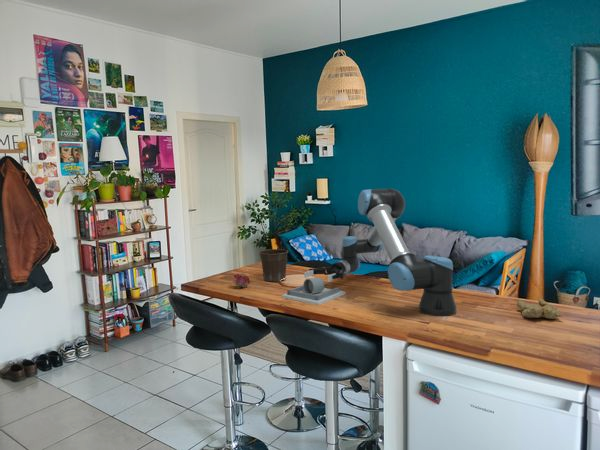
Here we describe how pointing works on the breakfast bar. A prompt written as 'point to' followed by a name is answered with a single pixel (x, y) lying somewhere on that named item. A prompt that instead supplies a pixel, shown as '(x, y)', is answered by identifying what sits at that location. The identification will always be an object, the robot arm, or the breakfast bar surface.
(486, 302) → the breakfast bar surface
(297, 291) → the tray
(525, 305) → the ginger root
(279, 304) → the breakfast bar surface
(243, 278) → the flower
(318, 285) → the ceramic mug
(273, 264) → the plant pot
